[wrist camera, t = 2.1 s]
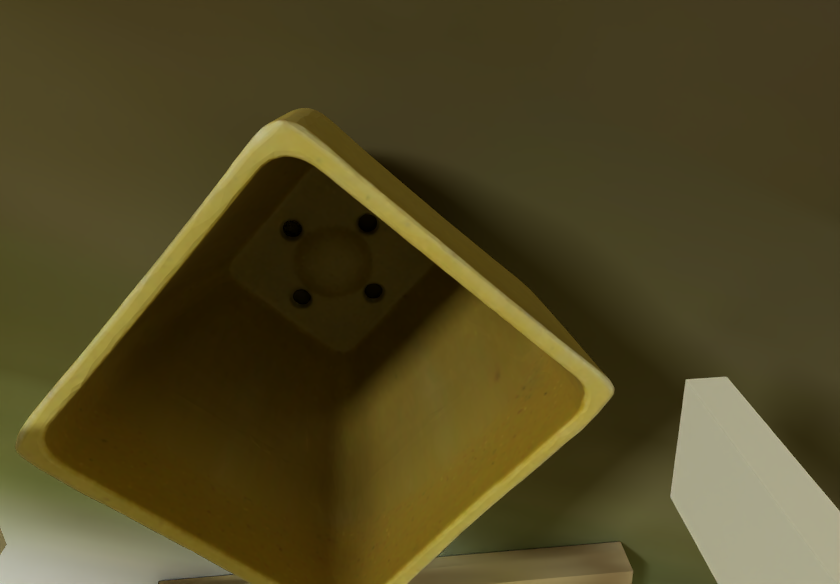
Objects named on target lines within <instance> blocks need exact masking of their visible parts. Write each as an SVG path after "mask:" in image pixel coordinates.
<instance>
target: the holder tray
mask: <svg viewBox="0 0 840 584" xmlns="http://www.w3.org/2000/svg"><path fill="white" fill-rule="evenodd" d="M632 577H633V569H632V567H631V565H630V563H629V560H628V558H627V556H626V553H625V551H624V549H623V547H622V544H621V542H609V543H597V544H585V545H574V546H562V547H551V548H539V549H527V550H516V551H504V552H492V553H481V554H469V555H458V556H446V557H436V558H435V559H434V560H433V561H432V562H430V563H429V564H428V565H427V566H426V567H425V568H424V569H423V570H422V571H420V572H419V573H418V574H417V575H416V576H415V577H414V578H413V579H412V580H411V581H410V582H409V583H408V584H632ZM158 584H250V583H248V582H246V581H245V580H243V579H241V578H240V577H238V576H236V575H225V576H213V577H202V578H190V579H178V580H167V581H159V582H158Z"/></svg>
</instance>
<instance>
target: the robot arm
mask: <svg viewBox="0 0 840 584" xmlns="http://www.w3.org/2000/svg"><path fill="white" fill-rule="evenodd" d="M670 497H671V499H672V501H673V503H674V504H675V506H676V508H677V510H678V512H679V514H680V515H681V517H682V519H683V521H684V523H685V525H686V526H687V528H688V530H689V532H690V534H691V536H692V537H693V539H694V541H695V543H696V545H697V547H698V548H699V550H700V552H701V554H702V556H703V558H704V559H705V561H706V563H707V565H708V567H709V569H710V570H711V572H712V574H713V576H714V578H715V579H716V581H717V583H718V584H840V511H839V510H838V509H837V507H836V506H835V505H834V504H833V503H832V502H831V500H830V499H829V498H828V497H827V496H826V494H825V493H824V492H823V491H822V490H821V488H820V487H819V486H818V485H817V484H816V482H815V481H814V480H813V479H812V478H811V477H810V475H809V474H808V473H807V472H806V471H805V469H804V468H803V467H802V466H801V465H800V463H799V462H798V461H797V460H796V459H795V457H794V456H793V455H792V454H791V453H790V452H789V450H788V449H787V448H786V447H785V446H784V444H783V443H782V442H781V441H780V440H779V438H778V437H777V436H776V435H775V434H774V432H773V431H772V430H771V429H770V428H769V427H768V425H767V424H766V423H765V422H764V421H763V419H762V418H761V417H760V416H759V415H758V413H757V412H756V411H755V410H754V409H753V407H752V406H751V405H750V404H749V403H748V402H747V400H746V399H745V398H744V397H743V396H742V394H741V393H740V392H739V391H738V390H737V388H736V387H735V386H734V385H733V384H732V382H731V381H730V380H729V379H728V378H727V377H715V378H700V379H686V382H685V389H684V397H683V404H682V412H681V419H680V427H679V435H678V442H677V450H676V457H675V465H674V472H673V480H672V488H671V495H670ZM6 545H7V544H6V542H5V539H4V536H3V534H2V531H1V528H0V554H1V553H2V551H3V549H4V548H5V546H6Z"/></svg>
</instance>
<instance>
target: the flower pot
mask: <svg viewBox="0 0 840 584" xmlns="http://www.w3.org/2000/svg"><path fill="white" fill-rule="evenodd" d="M364 214H369V215H372V216H374V217H375V219H376V221H377V226H376V228H375V229H374V230H372V231H370V232H365V231H363V230H361V229H360V228H359V225H358V221H359V218H360V217H361V216H363V215H364ZM289 220H295V221H297V222H298V223H299V224H300V225H301V228H302V231H301V233H300V235H299V236H297V237H290V236H287V235H286V234H285V233H284V231H283V225H284V223H285V222H287V221H289ZM372 283H376V284H378V285H380V286H381V287H382V294H381V295H380V297H378V298H374V299H372V298H369V297H367V296H366V294H365V292H364V291H365V288H366V286H367V285H368V284H372ZM300 289H304V290H306V291H308V292H309V294H310V296H311V299H310V301H309V302H308V303H307V304H298V303H297V302H295V301H294V299H293V293H294V292H295V291H296V290H300ZM614 390H615V388H614V386H613V384H612V383H611V381H610V379H609V378H608V377H607V376H606V375H605V374H604V373H603V372H602V371H601V370H600V368H599V367H598V366H597V365H596V364H595V363H594V362H593V360H592V359H591V358H590V357H589V356H588V355H587V353H586V352H585V351H584V350H583V349H582V348H581V346H580V345H579V344H578V343H577V342H576V341H575V339H574V338H573V337H572V336H571V335H570V334H569V333H568V331H567V330H566V329H565V328H564V327H563V326H562V325H561V323H560V322H559V321H558V320H557V319H556V318H555V317H554V315H553V314H552V313H551V312H550V311H549V310H548V309H547V308H546V306H545V305H544V304H543V303H542V302H541V301H540V300H539V299H538V298H537V296H536V295H535V294H534V293H533V292H532V291H531V290H530V289H529V288H528V287H527V286H526V285H525V284H523V283H522V282H521V281H520V280H519V279H518V278H517V277H515V276H514V275H513V274H512V273H510V272H509V271H508V270H507V269H505V268H504V267H503V266H502V265H500V264H499V263H498V262H497V261H495V260H494V259H493V258H492V257H490V256H489V255H488V254H487V253H486V252H484V251H483V250H482V249H481V248H480V247H478V246H477V245H476V244H475V243H473V242H472V241H471V240H470V239H469V238H467V237H466V236H465V235H464V234H463V233H461V232H460V231H459V230H458V229H457V228H455V227H454V226H453V225H452V224H450V223H449V222H448V221H447V220H446V219H444V218H443V217H442V216H441V215H440V214H438V213H437V212H436V211H435V210H434V209H432V208H431V207H430V206H429V205H428V204H427V203H425V202H424V201H423V200H422V199H421V198H419V197H418V196H417V195H416V194H415V193H414V192H412V191H411V190H410V189H409V188H408V187H407V186H405V185H404V184H403V183H402V182H401V181H400V180H398V179H397V178H396V177H395V176H394V175H393V174H391V173H390V172H389V171H388V170H387V169H386V168H384V167H383V166H382V165H381V164H380V163H379V162H377V161H376V160H375V159H374V158H373V157H372V156H370V155H369V154H368V153H367V152H366V151H365V150H363V149H362V148H361V147H360V146H359V145H358V144H357V143H356V142H354V141H353V140H352V139H351V138H350V137H349V136H348V135H347V134H345V133H344V132H343V131H342V130H341V129H340V128H339V127H338V126H337V125H335V124H334V123H333V122H332V121H331V120H330V119H328V118H327V117H326V116H324V115H323V114H322V113H320V112H318V111H316V110H313V109H309V108H300V109H297V110H293V111H291V112H289V113H287V114H285V115H283V116H281V117H279V118H278V119H276V120H274V121H272V122H271V123H269V124H267V125H266V126H264V127H263V128H261V129H260V130H259V131H258V132H257V133H256V134H255V135H254V136H253V137H252V139H251V140H250V141H249V143H248V144H247V145H246V147H245V148H244V149H243V150H242V152H241V153H240V154H239V156H238V157H237V158H236V160H235V161H234V162H233V164H232V165H231V166H230V168H229V169H228V171H227V172H226V173H225V175H224V176H223V177H222V178H221V180H220V181H219V182H218V184H217V185H216V186H215V187H214V189H213V190H212V191H211V193H210V194H209V195H208V197H207V198H206V199H205V200H204V202H203V203H202V204H201V206H200V207H199V208H198V209H197V211H196V212H195V213H194V215H193V216H192V217H191V218H190V220H189V221H188V222H187V223H186V225H185V226H184V227H183V228H182V230H181V231H180V232H179V233H178V235H177V236H176V237H175V238H174V240H173V241H172V242H171V244H170V245H169V246H168V247H167V249H166V250H165V251H164V252H163V254H162V255H161V256H160V257H159V259H158V260H157V261H156V262H155V264H154V265H153V266H152V267H151V268H150V270H149V271H148V272H147V273H146V275H145V276H144V277H143V278H142V280H141V281H140V282H139V283H138V285H137V286H136V287H135V288H134V289H133V291H132V292H131V293H130V294H129V296H128V297H127V298H126V299H125V301H124V302H123V303H122V304H121V305H120V307H119V308H118V309H117V310H116V312H115V313H114V314H113V315H112V317H111V318H110V319H109V320H108V322H107V323H106V324H105V325H104V327H103V328H102V329H101V330H100V332H99V333H98V334H97V335H96V337H95V338H94V339H93V340H92V342H91V343H90V344H89V345H88V346H87V348H86V349H85V350H84V351H83V353H82V354H81V355H80V356H79V357H78V359H77V360H76V361H75V362H74V363H73V364H72V366H71V367H70V368H69V369H68V370H67V371H66V373H65V374H64V375H63V376H62V377H61V379H60V380H59V381H58V382H57V383H56V384H55V386H54V387H53V388H52V389H51V390H50V392H49V393H48V394H47V395H46V397H45V398H44V399H43V400H42V401H41V403H40V404H39V405H38V406H37V407H36V409H35V410H34V411H33V413H32V414H31V415H30V416H29V418H28V419H27V421H26V422H25V424H24V425H23V426H22V428H21V429H20V431H19V433H18V436H17V440H16V445H15V449H16V452H17V453H18V454H19V455H20V456H21V457H22V458H24V459H25V460H27V461H28V462H30V463H31V464H33V465H34V466H36V467H37V468H39V469H40V470H42V471H44V472H45V473H47V474H49V475H51V476H52V477H54V478H56V479H58V480H59V481H61V482H63V483H65V484H66V485H68V486H70V487H72V488H73V489H75V490H77V491H79V492H81V493H82V494H84V495H86V496H88V497H90V498H92V499H94V500H96V501H98V502H100V503H103V504H105V505H107V506H109V507H110V508H112V509H114V510H115V511H118V512H120V513H122V514H124V515H126V516H127V517H129V518H131V519H133V520H135V521H136V522H138V523H140V524H142V525H144V526H146V527H147V528H149V529H151V530H153V531H155V532H157V533H159V534H161V535H163V536H165V537H166V538H168V539H170V540H172V541H174V542H176V543H177V544H179V545H181V546H183V547H185V548H187V549H189V550H191V551H193V552H195V553H196V554H198V555H200V556H202V557H204V558H205V559H207V560H209V561H211V562H213V563H214V564H216V565H218V566H220V567H221V568H223V569H225V570H227V571H229V572H231V573H233V574H234V575H236V576H238V577H240V578H241V579H243V580H245V581H246V582H248V583H250V584H408V583H409V582H410V581H411V580H412V579H413V578H414V577H415V576H416V575H417V574H418V573H419V572H420V571H422V570H423V569H424V568H425V567H426V566H427V565H428V564H429V563H430V562H432V561H433V560H434V559H435V558H436V557H437V556H438V555H439V554H440V553H441V552H442V551H443V550H444V549H445V548H446V547H447V546H448V545H449V544H450V543H451V542H452V541H453V540H454V539H456V538H457V537H458V536H459V535H460V534H461V533H462V532H463V531H464V530H465V529H466V528H467V527H469V526H470V525H471V524H472V523H473V522H474V521H475V520H476V519H477V518H479V517H480V516H481V515H482V514H483V513H484V512H485V511H487V510H488V509H489V508H490V507H491V506H492V505H493V504H495V503H496V502H497V501H498V500H499V499H501V498H502V497H503V496H504V495H505V494H506V493H508V492H509V491H510V490H511V489H512V488H514V487H515V486H516V485H518V484H519V483H520V482H521V481H523V480H524V479H525V478H526V477H527V476H529V475H530V474H531V473H532V472H533V471H534V470H535V469H536V468H538V467H539V466H540V465H541V464H543V463H544V462H545V461H546V460H547V459H548V458H550V457H551V456H552V455H553V454H554V453H555V452H556V451H557V450H559V449H560V448H561V447H562V446H563V445H564V444H565V443H567V442H568V441H569V440H570V439H572V438H573V437H574V436H575V435H577V434H578V433H579V432H580V431H581V430H582V429H583V428H584V427H585V426H586V425H587V424H588V423H589V422H590V421H591V420H592V419H593V418H594V417H595V416H596V415H597V414H598V413H599V412H600V410H601V409H602V408H603V407H604V406H605V405H606V403H607V402H608V401H609V400H610V399H611V397H612V396H613V395H614Z"/></svg>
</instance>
